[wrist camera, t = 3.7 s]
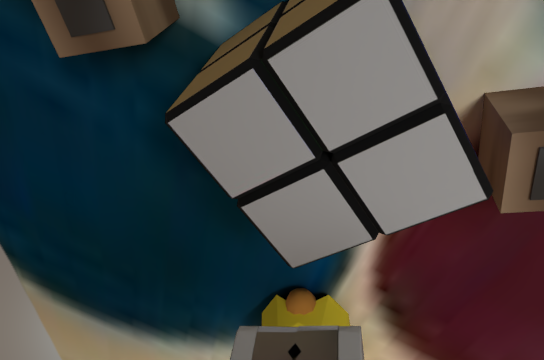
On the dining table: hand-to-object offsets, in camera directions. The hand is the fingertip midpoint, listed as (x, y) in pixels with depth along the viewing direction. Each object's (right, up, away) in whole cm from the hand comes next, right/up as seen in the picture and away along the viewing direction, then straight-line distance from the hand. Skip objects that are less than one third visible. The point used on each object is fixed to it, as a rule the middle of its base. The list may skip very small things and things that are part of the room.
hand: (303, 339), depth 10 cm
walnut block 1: (-9, +15, +13) cm, 22 cm away
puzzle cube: (+3, +11, +14) cm, 18 cm away
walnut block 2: (+15, +7, +15) cm, 22 cm away
